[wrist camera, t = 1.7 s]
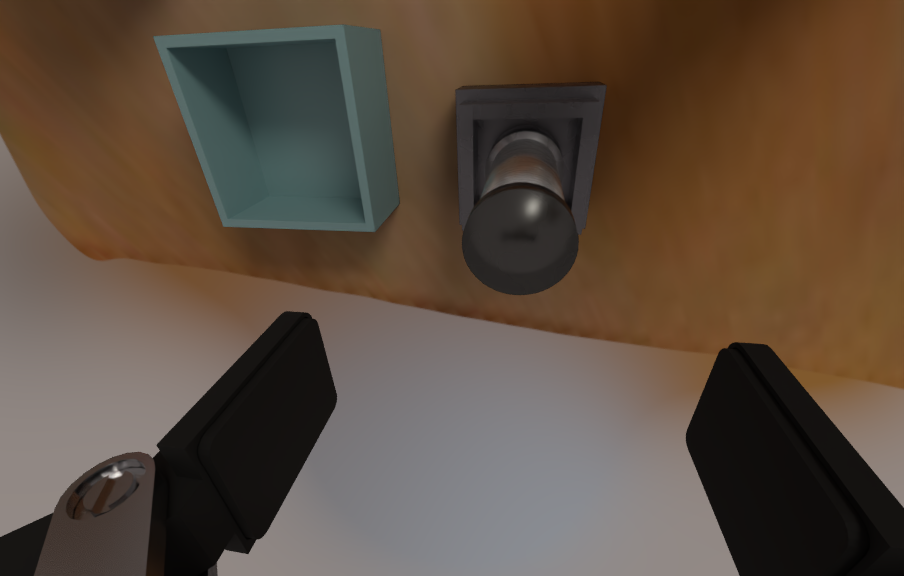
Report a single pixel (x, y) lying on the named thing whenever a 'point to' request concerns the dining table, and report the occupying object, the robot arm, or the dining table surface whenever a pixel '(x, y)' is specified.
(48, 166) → the dining table surface
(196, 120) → the bin
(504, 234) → the pepper mill
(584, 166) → the square recessed block
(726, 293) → the dining table surface
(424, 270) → the dining table surface
